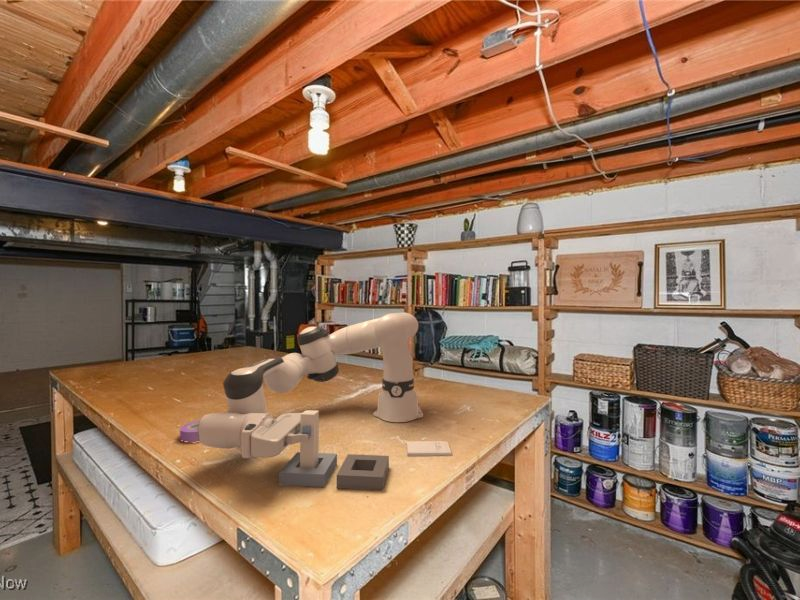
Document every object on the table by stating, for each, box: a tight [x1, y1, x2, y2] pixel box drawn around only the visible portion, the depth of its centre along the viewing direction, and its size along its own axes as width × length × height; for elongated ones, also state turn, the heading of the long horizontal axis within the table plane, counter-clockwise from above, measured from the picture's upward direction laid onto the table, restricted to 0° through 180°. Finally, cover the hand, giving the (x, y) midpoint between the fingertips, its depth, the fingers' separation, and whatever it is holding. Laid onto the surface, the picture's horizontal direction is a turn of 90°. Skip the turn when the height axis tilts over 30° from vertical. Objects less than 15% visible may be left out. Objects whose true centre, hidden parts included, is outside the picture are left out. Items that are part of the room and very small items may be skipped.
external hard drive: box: [406, 440, 452, 457], centre depth 103 cm, size 2×8×12 cm
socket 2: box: [336, 453, 390, 491], centre depth 87 cm, size 11×11×3 cm
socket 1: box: [278, 451, 338, 488], centre depth 89 cm, size 11×11×3 cm
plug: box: [299, 409, 320, 468], centre depth 88 cm, size 4×4×14 cm
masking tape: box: [179, 419, 201, 442], centre depth 114 cm, size 12×12×4 cm
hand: (312, 433), depth 88 cm, fingers closed on plug, 4 cm apart
